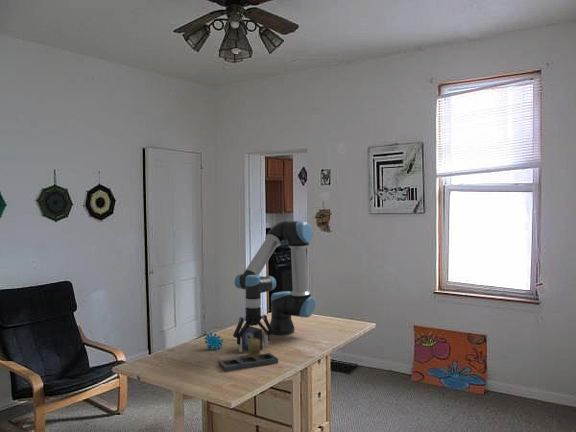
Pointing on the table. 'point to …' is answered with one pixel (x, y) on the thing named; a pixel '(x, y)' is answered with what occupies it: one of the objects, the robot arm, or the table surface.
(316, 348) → the table surface
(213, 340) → the gear
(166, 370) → the table surface
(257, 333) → the small box
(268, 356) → the grey flat frame
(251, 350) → the olive yellow block
